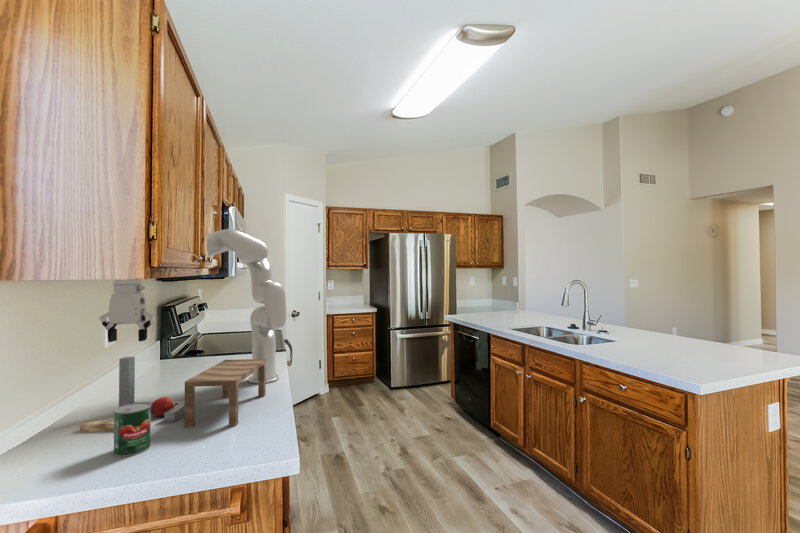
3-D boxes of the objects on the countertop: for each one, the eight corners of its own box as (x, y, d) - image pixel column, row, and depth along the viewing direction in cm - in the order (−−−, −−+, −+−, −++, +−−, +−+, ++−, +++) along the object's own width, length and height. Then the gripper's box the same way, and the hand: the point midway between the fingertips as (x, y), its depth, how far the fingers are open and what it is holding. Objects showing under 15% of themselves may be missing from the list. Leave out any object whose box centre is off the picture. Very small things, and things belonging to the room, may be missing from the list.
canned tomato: (134, 441, 102) (135, 401, 103) (158, 444, 100) (158, 403, 101) (105, 455, 95) (105, 411, 95) (129, 458, 93) (130, 414, 93)
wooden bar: (135, 428, 112) (135, 420, 112) (129, 431, 110) (130, 423, 110) (86, 429, 112) (86, 421, 112) (79, 433, 109) (79, 424, 109)
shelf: (224, 395, 141) (225, 359, 141) (265, 395, 142) (265, 359, 142) (184, 427, 112) (184, 381, 112) (235, 425, 113) (235, 380, 113)
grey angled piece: (125, 410, 126) (125, 356, 126) (192, 409, 127) (192, 355, 128) (99, 424, 114) (100, 365, 115) (174, 422, 116) (174, 363, 116)
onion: (167, 398, 119) (141, 403, 118) (170, 416, 119) (144, 421, 118) (177, 392, 125) (153, 397, 124) (180, 409, 124) (156, 414, 124)
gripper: (160, 288, 130) (160, 338, 129) (108, 289, 129) (108, 339, 129) (147, 289, 122) (147, 342, 122) (91, 290, 121) (92, 343, 121)
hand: (127, 341), depth 125 cm, fingers open, 9 cm apart
